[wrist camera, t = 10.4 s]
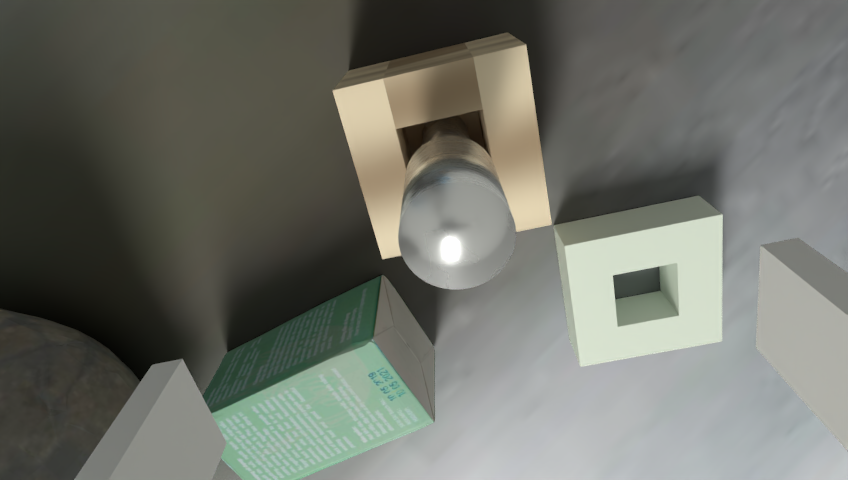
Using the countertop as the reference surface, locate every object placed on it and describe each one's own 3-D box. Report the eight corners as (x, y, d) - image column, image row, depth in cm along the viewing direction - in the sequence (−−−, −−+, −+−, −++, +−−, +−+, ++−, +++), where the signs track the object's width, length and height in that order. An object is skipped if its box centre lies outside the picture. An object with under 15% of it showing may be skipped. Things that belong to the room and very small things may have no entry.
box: (220, 352, 39) (179, 431, 33) (381, 268, 36) (373, 335, 30) (282, 420, 42) (256, 505, 35) (436, 346, 39) (440, 424, 32)
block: (348, 70, 31) (332, 90, 25) (507, 32, 30) (526, 44, 25) (388, 215, 35) (382, 259, 29) (531, 184, 34) (551, 224, 28)
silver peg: (403, 108, 31) (384, 196, 18) (473, 92, 30) (505, 170, 18) (419, 175, 32) (413, 299, 20) (486, 160, 32) (524, 277, 19)
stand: (553, 225, 35) (564, 246, 32) (698, 195, 34) (722, 214, 31) (569, 339, 39) (580, 366, 36) (700, 315, 38) (721, 341, 35)
